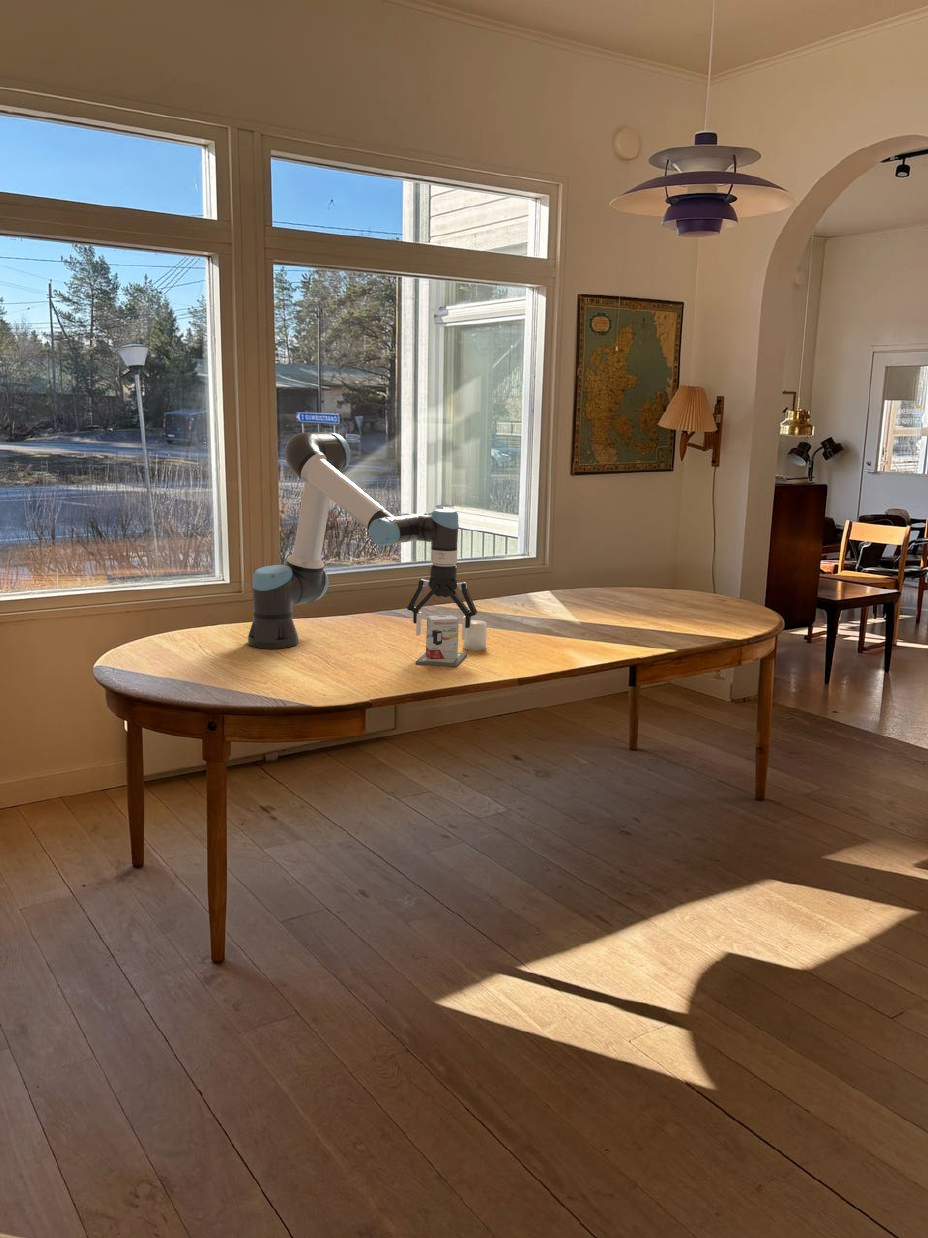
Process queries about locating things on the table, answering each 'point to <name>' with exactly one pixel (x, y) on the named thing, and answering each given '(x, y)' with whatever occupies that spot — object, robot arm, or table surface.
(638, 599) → the table surface
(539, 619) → the table surface
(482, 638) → the white ceramic tumbler
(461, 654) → the e-reader
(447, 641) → the ink box
